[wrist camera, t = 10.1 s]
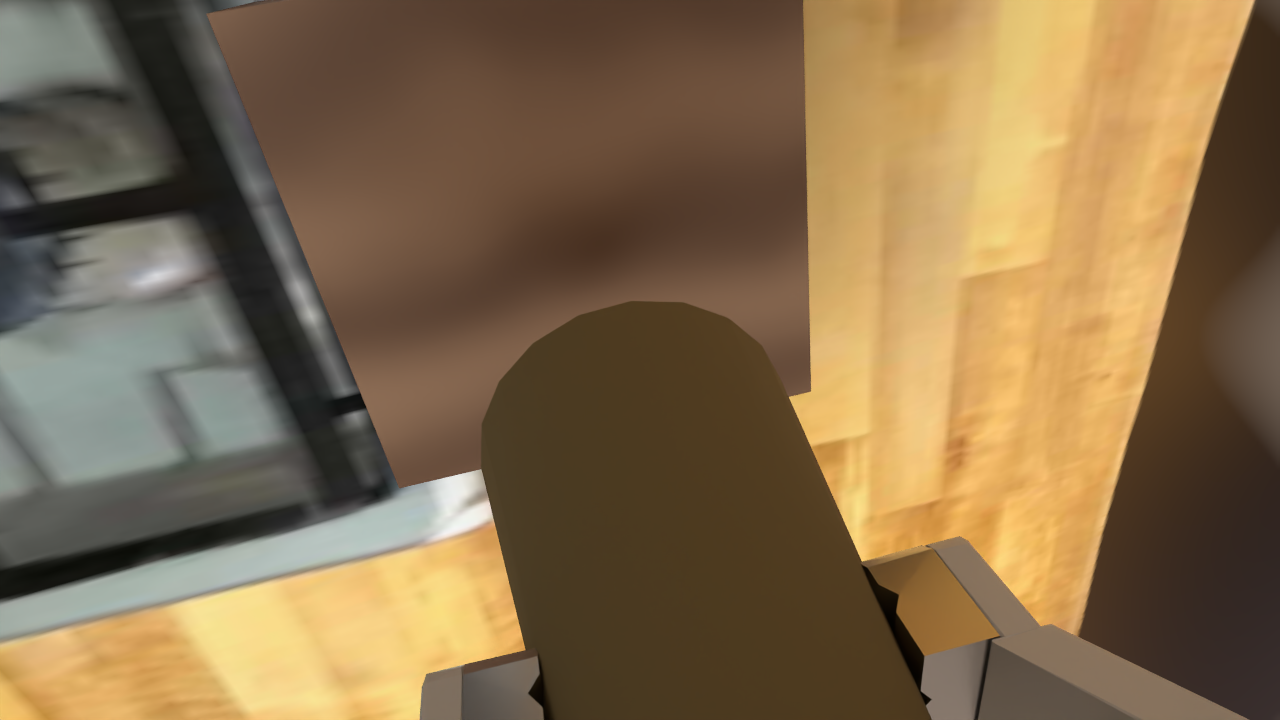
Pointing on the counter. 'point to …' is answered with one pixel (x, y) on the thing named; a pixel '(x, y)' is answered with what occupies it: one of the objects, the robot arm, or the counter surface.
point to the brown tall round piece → (679, 531)
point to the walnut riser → (526, 182)
